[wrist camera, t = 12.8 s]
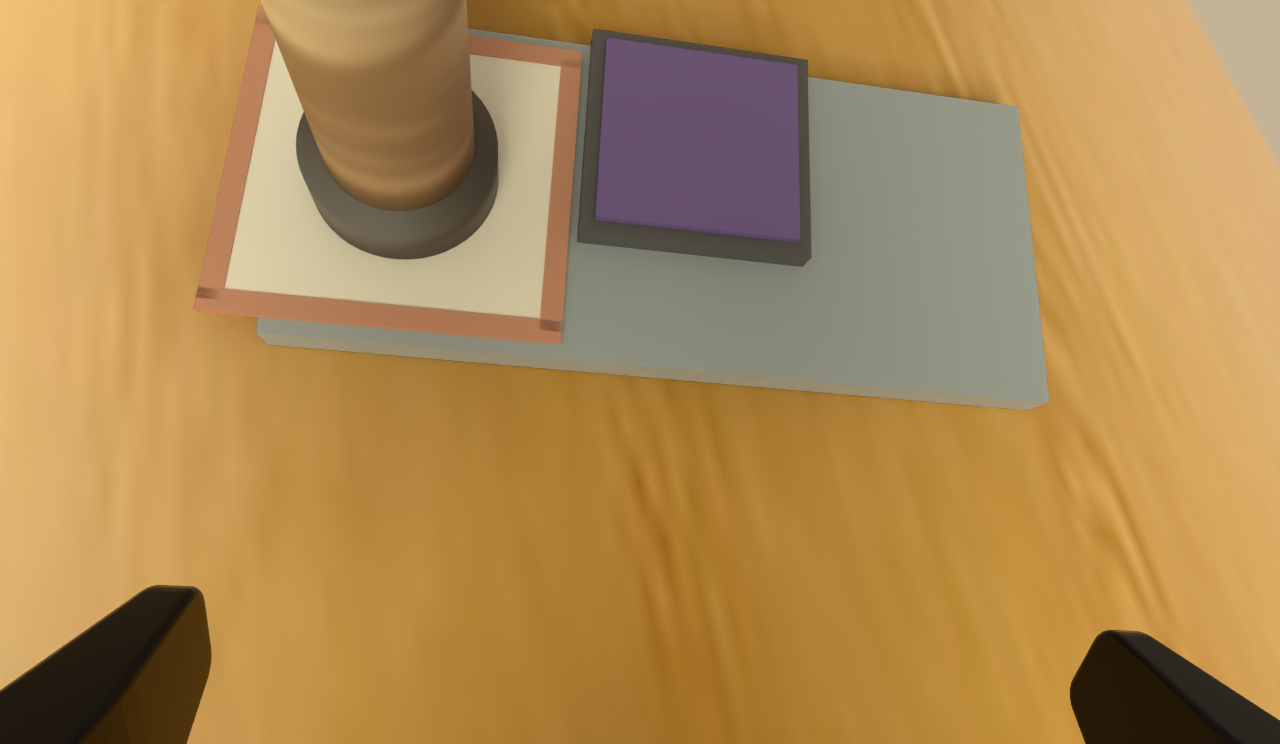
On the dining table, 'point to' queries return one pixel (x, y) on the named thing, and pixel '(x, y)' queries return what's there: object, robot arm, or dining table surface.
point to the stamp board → (669, 229)
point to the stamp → (389, 121)
